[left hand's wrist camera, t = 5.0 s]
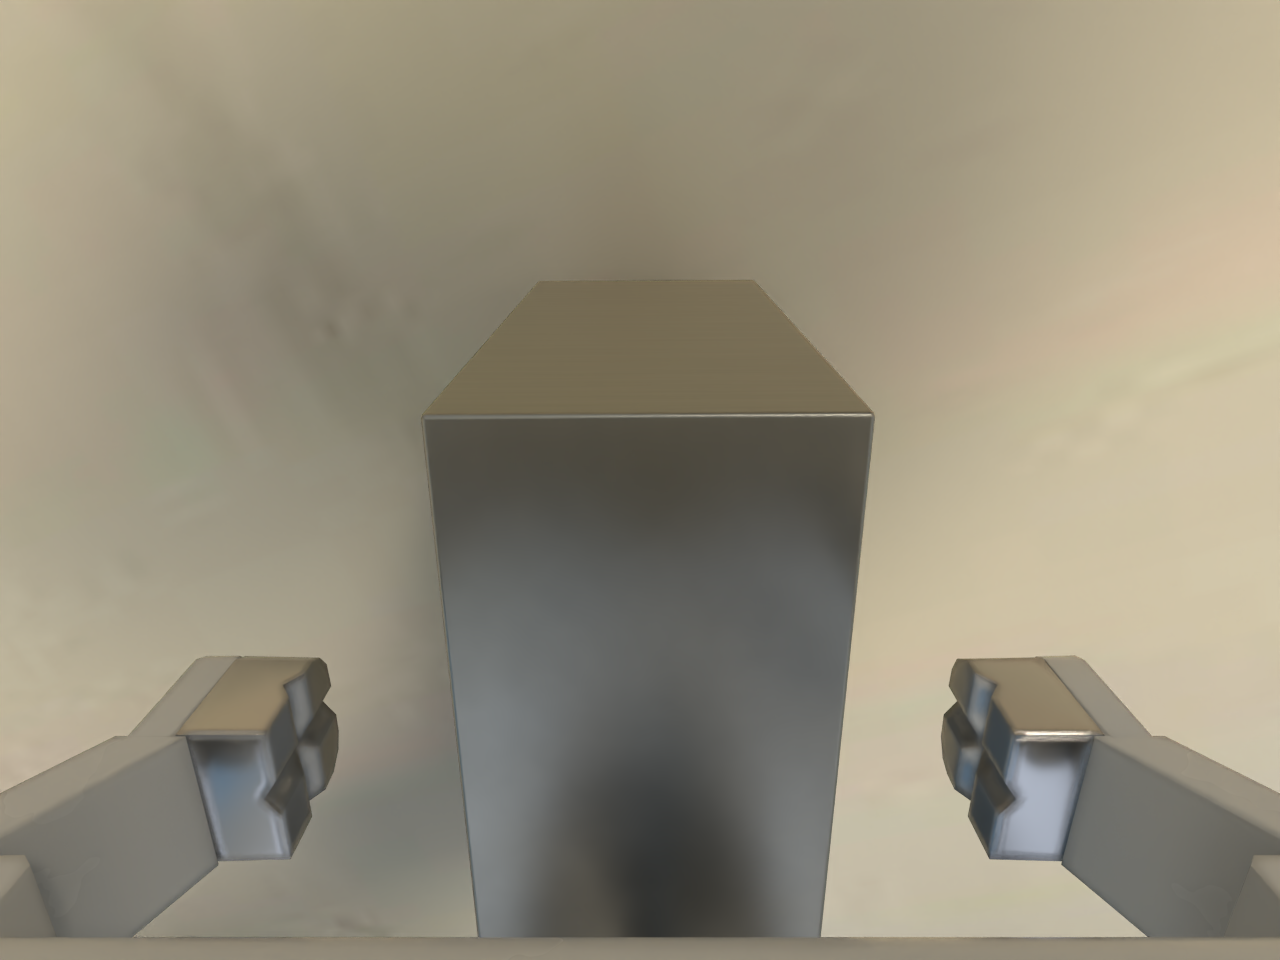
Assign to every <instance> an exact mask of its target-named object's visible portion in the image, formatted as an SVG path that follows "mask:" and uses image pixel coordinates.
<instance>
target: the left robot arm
mask: <svg viewBox="0 0 1280 960" xmlns="http://www.w3.org/2000/svg"><path fill="white" fill-rule="evenodd" d="M330 687H331V683H330V678H329V673H328V669H327V664H326V663H325V662H324V661H323V660H322V659H320V658H308V657H260V656H244V657H241V656H206V657H202V658H199V659H196V660H195V661H194V662H193V663H192V665H191V666H190V667H189V668H188V669H187V670H186V671H185V672H184V674H183V675H182V676H181V677H180V678H179V679H178V680H177V681H176V683H175V684H174V685H173V686H172V687H171V688H170V689H169V690H168V692H167V693H166V694H165V695H164V696H163V697H162V698H161V699H160V701H159V702H158V703H157V704H156V705H155V706H154V707H153V708H152V710H151V711H150V712H149V713H148V714H147V715H146V716H145V717H144V719H143V720H142V721H141V722H140V723H139V724H138V725H137V726H136V728H135V729H134V730H133V731H132V732H131V733H130V734H129V735H128V736H115V737H113V738H111V739H109V740H107V741H105V742H103V743H101V744H99V745H97V746H95V747H93V748H91V749H88V750H86V751H84V752H82V753H80V754H78V755H76V756H74V757H72V758H70V759H68V760H66V761H64V762H62V763H60V764H58V765H56V766H54V767H52V768H50V769H48V770H46V771H44V772H42V773H40V774H38V775H36V776H34V777H32V778H30V779H28V780H26V781H24V782H22V783H20V784H18V785H16V786H14V787H12V788H10V789H8V790H6V791H4V792H2V793H0V960H1280V793H1278V792H1276V791H1274V790H1272V789H1270V788H1268V787H1266V786H1264V785H1262V784H1260V783H1258V782H1256V781H1254V780H1252V779H1250V778H1248V777H1246V776H1244V775H1242V774H1240V773H1238V772H1236V771H1234V770H1232V769H1230V768H1228V767H1226V766H1224V765H1222V764H1220V763H1218V762H1216V761H1214V760H1211V759H1209V758H1207V757H1205V756H1203V755H1201V754H1199V753H1197V752H1195V751H1193V750H1191V749H1189V748H1187V747H1185V746H1183V745H1181V744H1179V743H1177V742H1175V741H1173V740H1171V739H1169V738H1167V737H1165V736H1151V734H1150V733H1149V732H1148V731H1147V730H1146V729H1145V728H1144V727H1143V725H1142V724H1141V723H1140V722H1139V721H1138V720H1137V719H1136V718H1135V716H1134V715H1133V714H1132V713H1131V712H1130V711H1129V710H1128V708H1127V707H1126V706H1125V705H1124V704H1123V703H1122V702H1121V701H1120V699H1119V698H1118V697H1117V696H1116V695H1115V694H1114V693H1113V692H1112V690H1111V689H1110V688H1109V687H1108V686H1107V685H1106V684H1105V683H1104V681H1103V680H1102V679H1101V678H1100V677H1099V676H1098V675H1097V674H1096V672H1095V671H1094V670H1093V669H1092V668H1091V667H1090V666H1089V665H1088V663H1087V662H1086V661H1085V660H1083V659H1081V658H1079V657H1077V656H1075V655H1074V656H1044V657H1035V658H977V659H957V660H956V662H955V664H954V666H953V668H952V671H951V677H950V682H949V687H950V689H951V691H952V692H953V694H954V696H955V698H956V699H957V702H956V703H955V704H954V705H953V706H952V707H951V708H950V709H949V710H948V711H947V712H946V713H945V714H944V718H943V725H942V733H941V742H942V754H943V760H944V764H945V767H946V771H947V774H948V776H949V778H950V781H951V783H952V785H953V787H954V789H955V790H956V791H958V792H959V793H961V794H962V795H964V796H965V797H966V798H968V799H969V800H971V802H970V808H969V813H968V817H969V819H970V821H971V823H972V825H973V827H974V829H975V831H976V833H977V835H978V837H979V839H980V841H981V843H982V845H983V847H984V849H985V851H986V853H987V855H988V857H989V859H1002V860H1038V861H1062V864H1061V865H1063V866H1064V867H1065V868H1066V869H1067V870H1069V871H1070V872H1071V873H1072V874H1073V875H1075V876H1076V877H1077V878H1078V879H1079V880H1081V881H1082V882H1083V883H1084V884H1085V885H1087V886H1088V887H1089V888H1090V889H1091V890H1092V891H1094V892H1095V893H1096V894H1097V895H1098V896H1100V897H1101V898H1102V899H1103V900H1104V901H1106V902H1107V903H1108V904H1109V905H1110V906H1112V907H1113V908H1114V909H1115V910H1116V911H1118V912H1119V913H1120V914H1121V915H1122V916H1124V917H1125V918H1126V919H1127V920H1128V921H1130V922H1131V923H1132V924H1133V925H1134V926H1135V927H1137V928H1138V929H1139V930H1140V931H1141V932H1143V933H1144V934H1145V935H1146V936H1147V937H133V936H134V935H135V934H136V933H138V932H139V931H140V930H141V929H142V928H144V927H145V926H146V925H147V924H148V923H150V922H151V921H152V920H153V919H154V918H156V917H157V916H158V915H159V914H160V913H161V912H163V911H164V910H165V909H166V908H167V907H169V906H170V905H171V904H172V903H173V902H175V901H176V900H177V899H178V898H179V897H181V896H182V895H183V894H184V893H185V892H187V891H188V890H189V889H190V888H191V887H193V886H194V885H195V884H196V883H197V882H199V881H200V880H201V879H202V878H203V877H205V876H206V875H207V874H208V873H209V872H211V871H212V870H213V869H214V868H215V867H217V866H218V861H241V860H276V859H291V857H292V855H293V853H294V851H295V849H296V847H297V845H298V843H299V841H300V839H301V837H302V835H303V833H304V831H305V829H306V827H307V825H308V823H309V821H310V819H311V817H312V813H311V808H310V802H309V800H311V799H312V798H314V797H315V796H316V795H318V794H319V793H321V792H322V791H324V790H325V789H326V787H327V785H328V783H329V780H330V778H331V776H332V774H333V772H334V767H335V763H336V758H337V753H338V741H339V730H338V724H337V717H336V714H335V713H334V712H333V711H332V710H331V709H330V708H329V707H328V706H327V705H326V704H325V703H324V702H323V699H324V698H325V696H326V694H327V692H328V691H329V689H330Z"/></svg>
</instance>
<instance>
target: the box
mask: <svg viewBox="0 0 1280 960" xmlns="http://www.w3.org/2000/svg"><path fill="white" fill-rule="evenodd" d="M874 421H875V415H874V412H873V411H872V410H871V409H870V408H869V407H868V406H867V405H866V404H865V402H864V401H863V400H862V399H861V398H860V397H859V396H858V395H857V394H856V393H855V391H854V390H853V389H852V388H851V387H850V386H849V385H848V384H847V383H846V381H845V380H844V379H843V378H842V377H841V376H840V375H839V374H838V373H837V372H836V370H835V369H834V368H833V367H832V366H831V365H830V364H829V363H828V362H827V360H826V359H825V358H824V357H823V356H822V355H821V354H820V353H819V352H818V351H817V349H816V348H815V347H814V346H813V345H812V344H811V343H810V342H809V341H808V340H807V338H806V337H805V336H804V335H803V334H802V333H801V332H800V331H799V330H798V328H797V327H796V326H795V325H794V324H793V323H792V322H791V321H790V320H789V319H788V317H787V316H786V315H785V314H784V313H783V312H782V311H781V310H780V309H779V307H778V306H777V305H776V304H775V303H774V302H773V301H772V300H771V299H770V298H769V296H768V295H767V294H766V293H765V292H764V291H763V290H762V289H761V288H760V286H759V285H758V284H757V283H756V282H755V281H754V280H666V281H539V282H538V283H537V284H536V285H535V286H534V287H533V288H532V290H531V291H530V292H529V293H528V294H527V295H526V296H525V298H524V299H523V300H522V301H521V302H520V303H519V305H518V306H517V307H516V308H515V309H514V310H513V311H512V313H511V314H510V315H509V316H508V317H507V318H506V319H505V321H504V322H503V323H502V324H501V325H500V326H499V327H498V329H497V330H496V331H495V332H494V333H493V334H492V335H491V337H490V338H489V339H488V340H487V341H486V342H485V343H484V345H483V346H482V347H481V348H480V349H479V350H478V351H477V353H476V354H475V355H474V356H473V357H472V358H471V359H470V361H469V362H468V363H467V364H466V365H465V366H464V367H463V369H462V370H461V371H460V372H459V373H458V374H457V375H456V377H455V378H454V379H453V380H452V381H451V382H450V383H449V385H448V386H447V387H446V388H445V389H444V390H443V391H442V393H441V394H440V395H439V396H438V397H437V398H436V399H435V401H434V402H433V403H432V404H431V405H430V406H429V407H428V409H427V410H426V411H425V412H424V413H423V414H422V417H421V422H422V431H423V440H424V450H425V459H426V468H427V477H428V486H429V495H430V504H431V513H432V522H433V531H434V541H435V550H436V559H437V568H438V577H439V586H440V595H441V604H442V613H443V623H444V632H445V641H446V650H447V659H448V668H449V677H450V686H451V695H452V705H453V714H454V723H455V732H456V741H457V750H458V759H459V768H460V777H461V787H462V796H463V805H464V814H465V823H466V832H467V841H468V850H469V859H470V869H471V878H472V887H473V896H474V905H475V914H476V923H477V932H478V937H821V929H822V919H823V909H824V900H825V890H826V881H827V871H828V861H829V852H830V842H831V833H832V823H833V814H834V804H835V794H836V785H837V775H838V766H839V756H840V746H841V737H842V727H843V718H844V708H845V699H846V689H847V679H848V670H849V660H850V651H851V641H852V631H853V622H854V612H855V603H856V593H857V584H858V574H859V564H860V555H861V545H862V536H863V526H864V516H865V507H866V497H867V488H868V478H869V469H870V459H871V449H872V440H873V430H874Z"/></svg>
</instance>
